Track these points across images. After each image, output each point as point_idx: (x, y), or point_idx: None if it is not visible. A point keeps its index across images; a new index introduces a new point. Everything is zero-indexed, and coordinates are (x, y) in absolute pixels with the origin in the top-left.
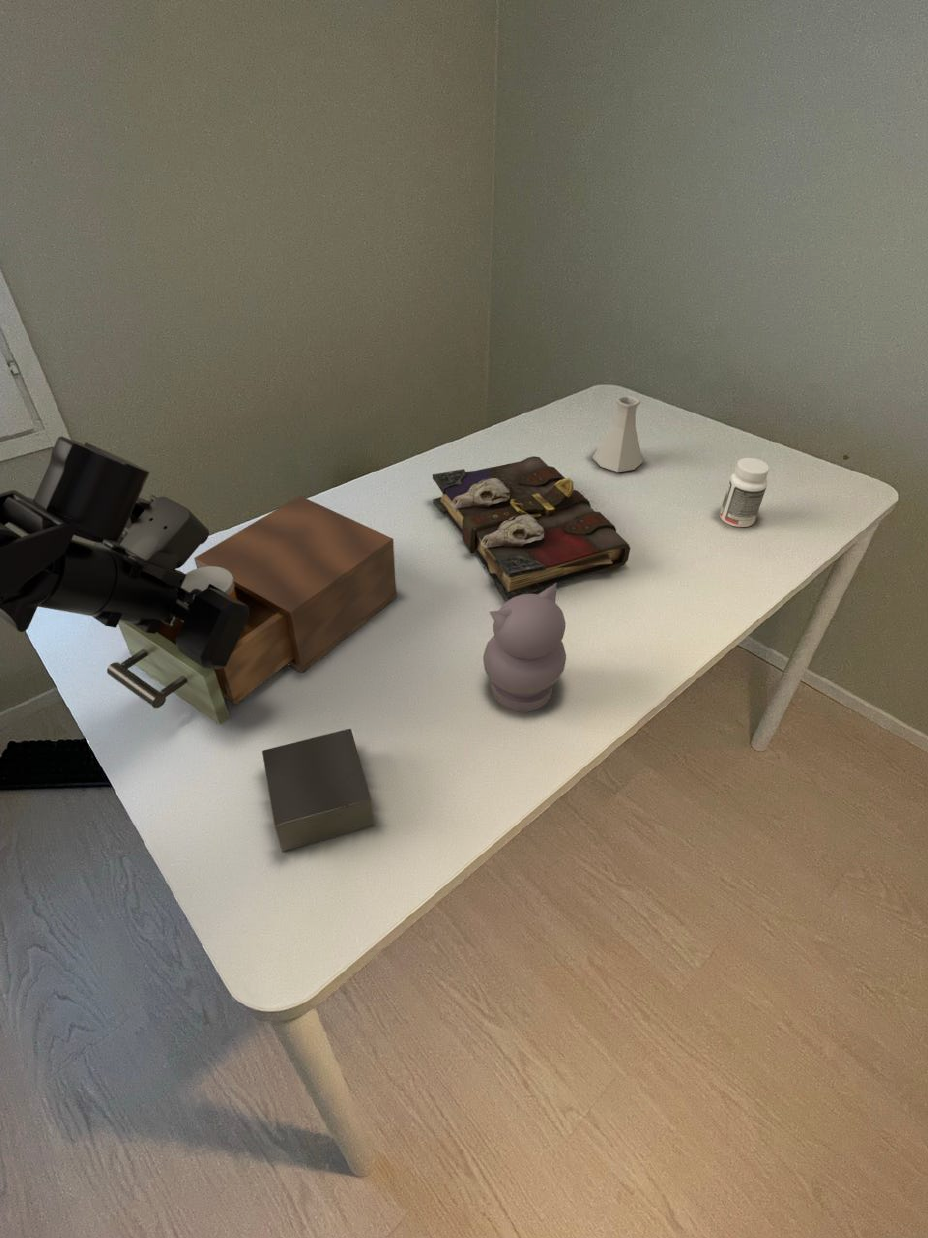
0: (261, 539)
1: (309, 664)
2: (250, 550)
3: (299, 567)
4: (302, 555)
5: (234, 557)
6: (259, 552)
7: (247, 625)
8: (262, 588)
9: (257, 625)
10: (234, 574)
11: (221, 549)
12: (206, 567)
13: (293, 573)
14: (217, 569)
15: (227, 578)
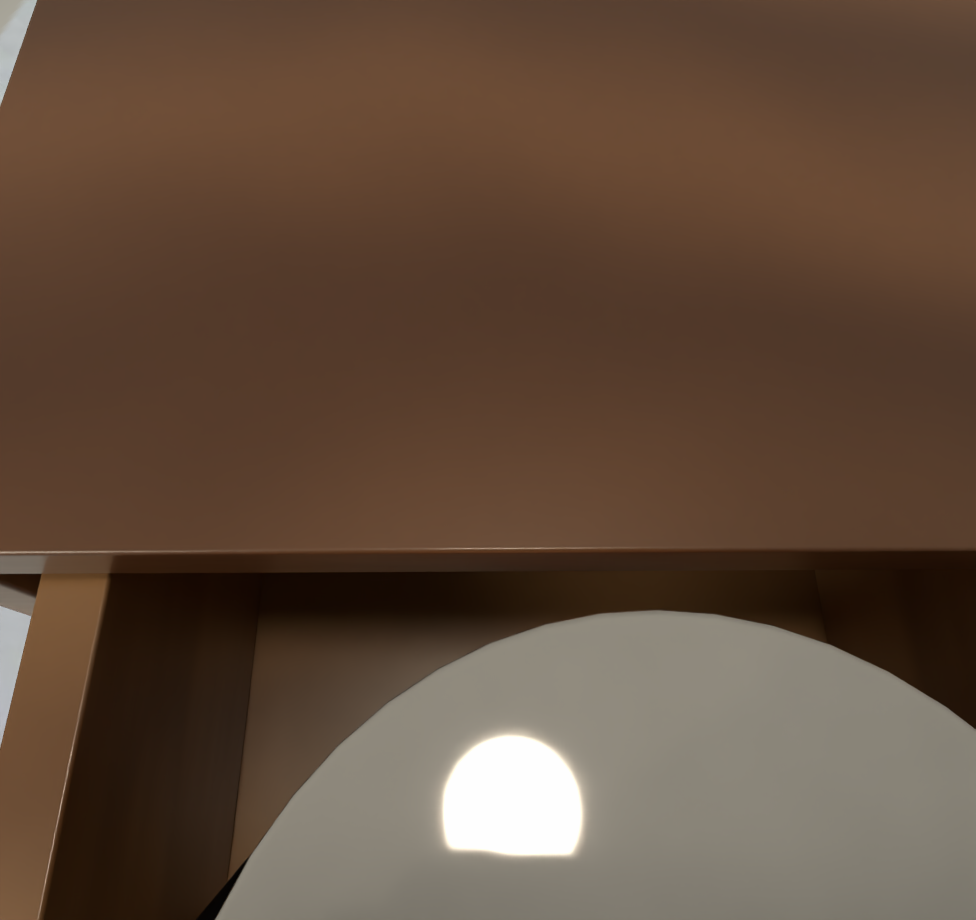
0: (247, 69)
1: None
2: (273, 192)
3: (782, 124)
4: (667, 34)
5: (220, 322)
6: (362, 170)
7: (481, 631)
8: (803, 463)
9: (528, 595)
10: (413, 481)
11: (25, 315)
12: (341, 795)
13: (810, 190)
14: (546, 706)
15: (894, 771)
